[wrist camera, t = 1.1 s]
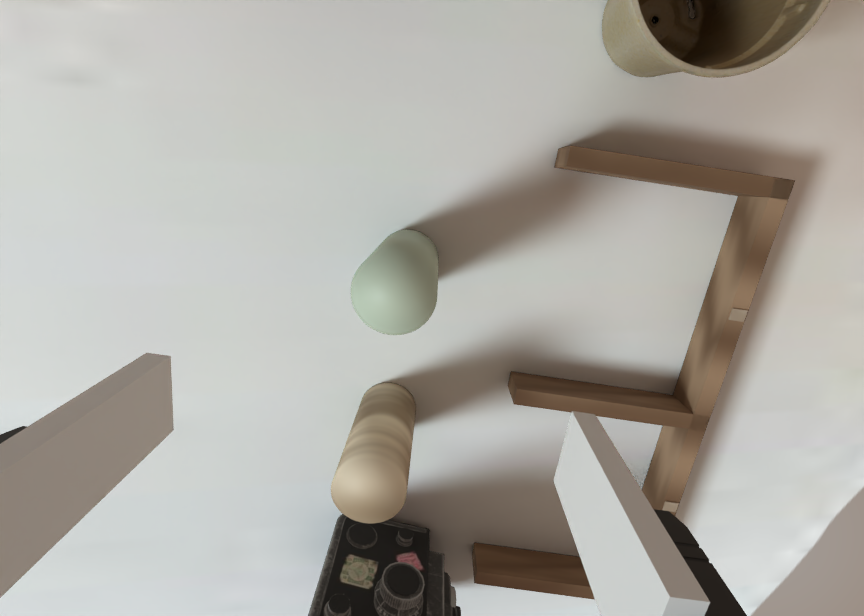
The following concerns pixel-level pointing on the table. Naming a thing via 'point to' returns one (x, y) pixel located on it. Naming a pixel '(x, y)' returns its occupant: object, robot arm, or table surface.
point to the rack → (699, 372)
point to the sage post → (397, 284)
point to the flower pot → (704, 34)
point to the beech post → (376, 456)
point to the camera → (382, 573)
